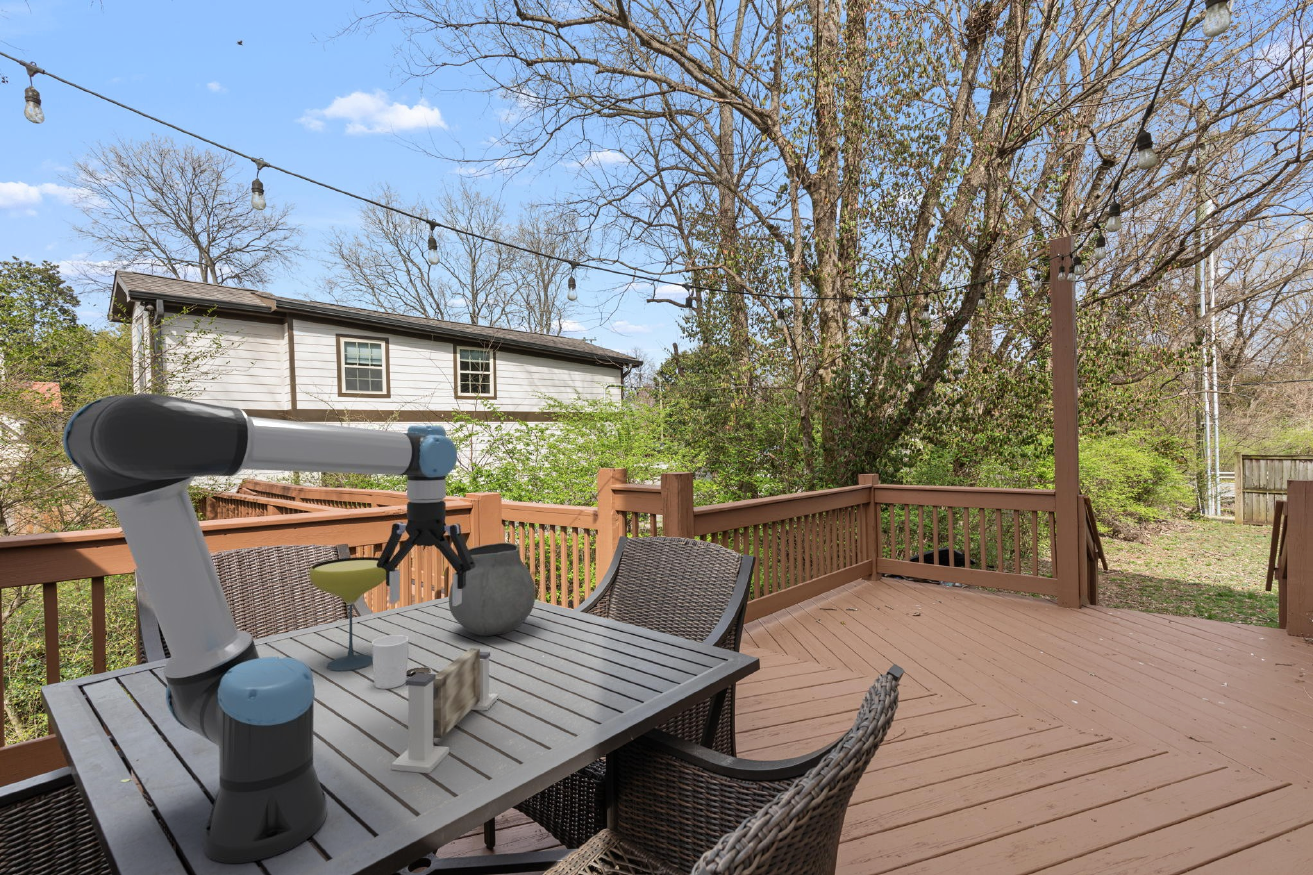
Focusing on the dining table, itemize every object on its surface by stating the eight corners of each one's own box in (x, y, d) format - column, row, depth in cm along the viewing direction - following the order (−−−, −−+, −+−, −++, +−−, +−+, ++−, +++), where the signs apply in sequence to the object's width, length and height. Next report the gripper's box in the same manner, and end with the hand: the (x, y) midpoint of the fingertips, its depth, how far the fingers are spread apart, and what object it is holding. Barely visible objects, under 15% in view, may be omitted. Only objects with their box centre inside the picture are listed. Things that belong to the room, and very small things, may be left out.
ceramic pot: (449, 623, 190) (449, 541, 190) (530, 617, 197) (530, 537, 197) (448, 650, 167) (448, 556, 167) (540, 641, 174) (540, 551, 174)
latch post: (486, 710, 130) (486, 659, 130) (459, 708, 131) (459, 657, 131) (498, 698, 136) (498, 649, 136) (472, 696, 137) (472, 647, 137)
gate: (431, 747, 112) (432, 686, 112) (421, 746, 113) (421, 685, 112) (479, 700, 132) (479, 648, 132) (470, 700, 132) (470, 648, 132)
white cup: (395, 691, 140) (395, 647, 140) (364, 688, 142) (364, 644, 142) (415, 678, 148) (415, 636, 148) (385, 675, 149) (385, 633, 149)
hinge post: (429, 773, 106) (429, 686, 106) (391, 769, 107) (391, 683, 107) (449, 752, 113) (449, 671, 113) (413, 749, 114) (413, 668, 114)
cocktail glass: (315, 655, 162) (315, 559, 162) (391, 647, 169) (391, 554, 169) (303, 681, 146) (303, 574, 145) (388, 671, 152) (388, 568, 152)
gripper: (491, 499, 131) (490, 600, 131) (379, 497, 134) (379, 596, 134) (477, 503, 124) (476, 610, 124) (359, 500, 127) (358, 605, 127)
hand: (425, 603), depth 129 cm, fingers open, 13 cm apart
